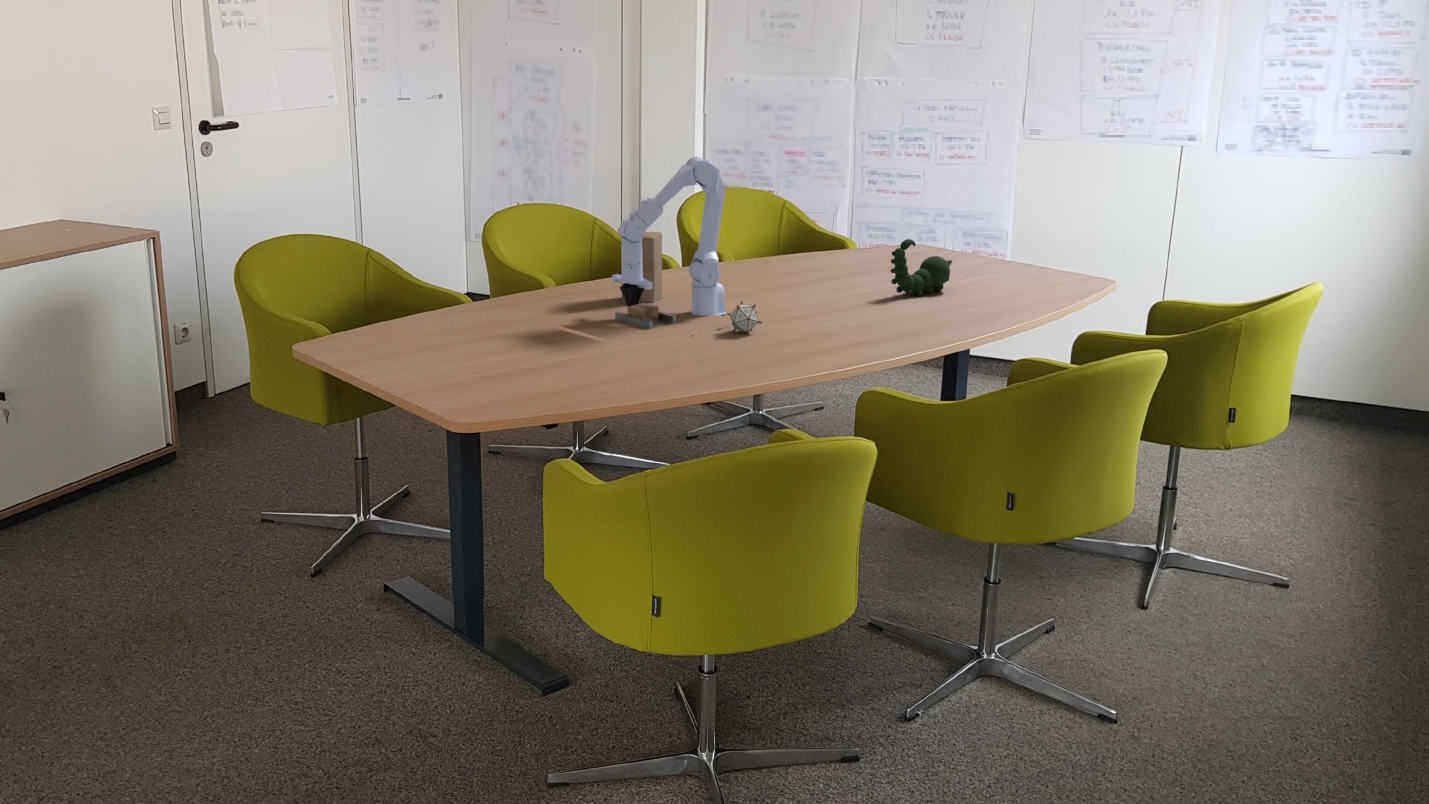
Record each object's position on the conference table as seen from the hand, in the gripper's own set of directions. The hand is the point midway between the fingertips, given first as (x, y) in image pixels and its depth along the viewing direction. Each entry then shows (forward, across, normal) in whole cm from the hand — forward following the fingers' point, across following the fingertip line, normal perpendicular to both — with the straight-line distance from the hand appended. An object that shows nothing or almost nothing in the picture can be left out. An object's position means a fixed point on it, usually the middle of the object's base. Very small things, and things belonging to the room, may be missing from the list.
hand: (632, 311), depth 334 cm
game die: (+3, +30, +13) cm, 33 cm away
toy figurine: (+3, +35, +89) cm, 96 cm away
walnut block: (+2, +4, 0) cm, 5 cm away
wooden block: (+3, -17, +19) cm, 25 cm away
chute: (+3, +9, 0) cm, 10 cm away
